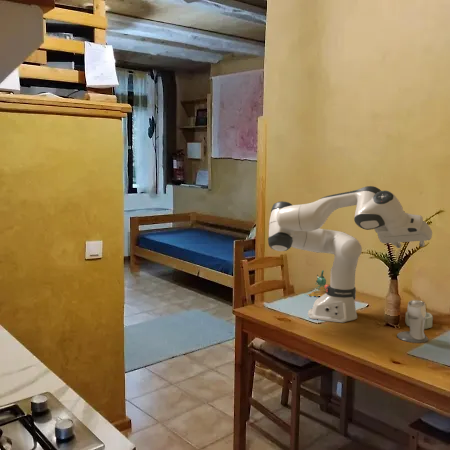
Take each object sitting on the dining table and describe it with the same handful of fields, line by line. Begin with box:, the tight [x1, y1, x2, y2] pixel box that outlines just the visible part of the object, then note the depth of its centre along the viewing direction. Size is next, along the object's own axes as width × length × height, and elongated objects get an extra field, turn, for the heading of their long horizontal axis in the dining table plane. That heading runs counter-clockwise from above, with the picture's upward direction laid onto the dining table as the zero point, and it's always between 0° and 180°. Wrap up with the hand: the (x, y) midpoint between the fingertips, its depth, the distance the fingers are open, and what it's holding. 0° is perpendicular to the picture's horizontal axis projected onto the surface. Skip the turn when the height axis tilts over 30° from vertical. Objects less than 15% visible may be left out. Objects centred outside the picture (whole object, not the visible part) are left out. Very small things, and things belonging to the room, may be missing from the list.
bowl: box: [404, 311, 434, 330], centre depth 221 cm, size 11×11×5 cm
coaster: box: [396, 330, 429, 344], centre depth 207 cm, size 12×12×1 cm
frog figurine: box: [307, 269, 327, 298], centre depth 267 cm, size 10×18×15 cm, turn 96°
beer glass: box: [406, 299, 427, 340], centre depth 203 cm, size 7×7×15 cm
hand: (410, 246), depth 200 cm, fingers open, 8 cm apart
